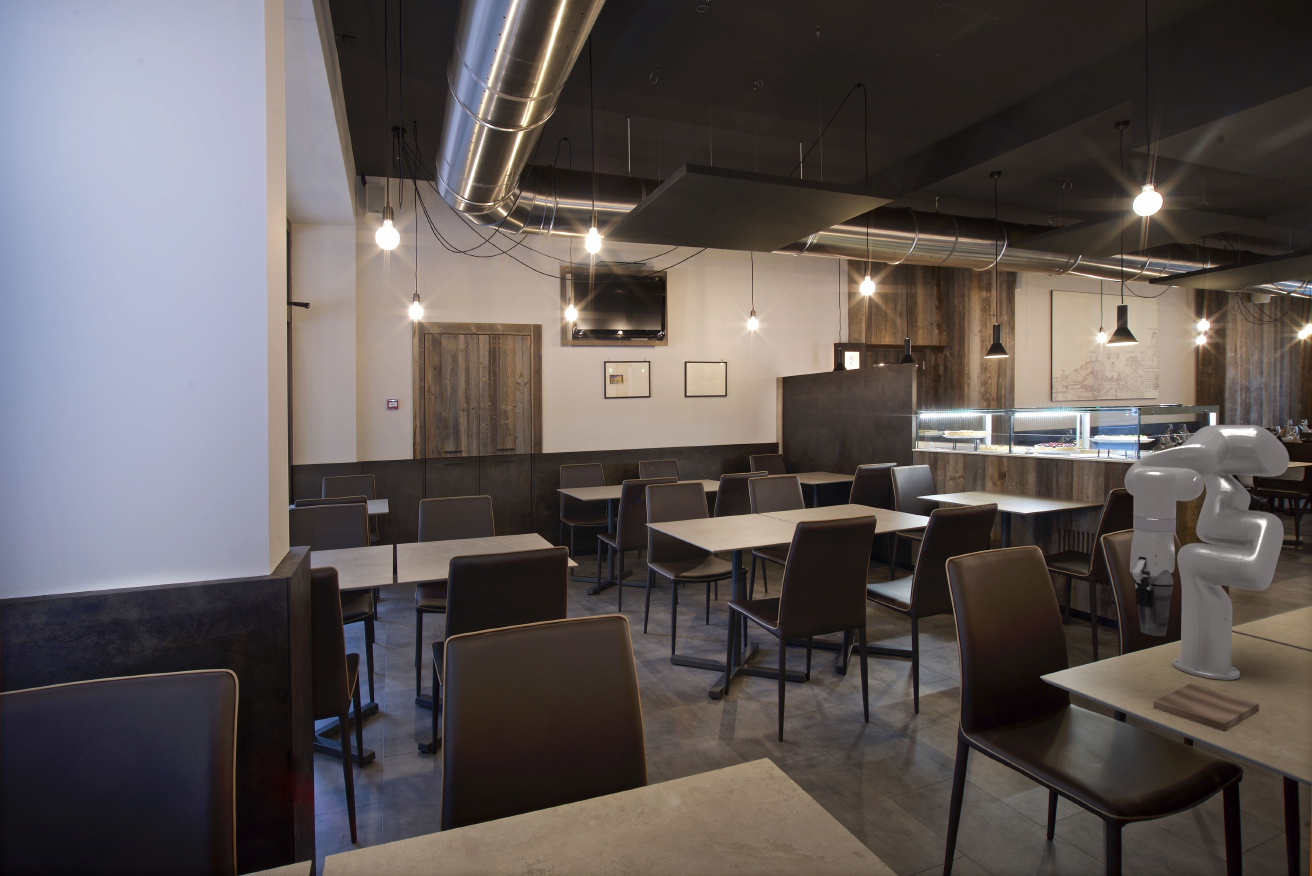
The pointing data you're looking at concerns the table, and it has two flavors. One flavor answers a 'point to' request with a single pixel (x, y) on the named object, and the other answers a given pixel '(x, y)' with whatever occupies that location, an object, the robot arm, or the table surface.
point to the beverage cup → (1157, 606)
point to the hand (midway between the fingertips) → (1153, 603)
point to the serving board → (1207, 706)
